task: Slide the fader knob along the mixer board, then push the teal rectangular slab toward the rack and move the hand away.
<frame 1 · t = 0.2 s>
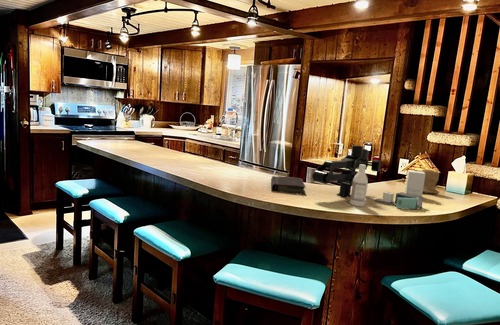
hand: (371, 164, 222), 17 cm above the table, tool horizontal, fingers open, 9 cm apart
fader knob: (388, 196, 197), point 3 cm above the table, slide at 0.0 cm
rack: (408, 205, 197), on the table
teal rectangular slab: (406, 203, 187), point 3 cm above the table, hinge at 55.0°
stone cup: (425, 193, 243), on the table
bath foam: (357, 205, 186), on the table
diary: (287, 189, 211), on the table
mixer board: (383, 202, 198), on the table
supplement box: (412, 196, 225), on the table
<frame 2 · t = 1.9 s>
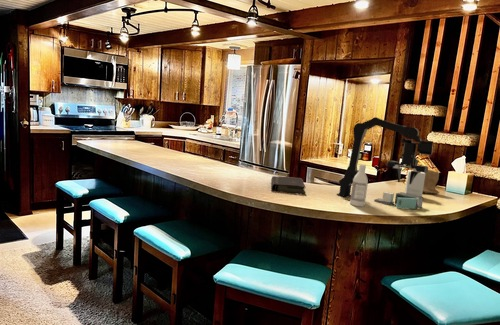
hand: (404, 183, 191), 12 cm above the table, tool pointing down, fingers open, 5 cm apart
nothing on the table moved.
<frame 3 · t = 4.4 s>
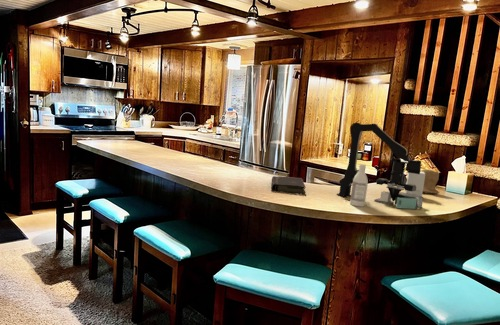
hand: (393, 201, 195), 2 cm above the table, tool pointing down, fingers closed
fader knob: (386, 196, 198), point 3 cm above the table, slide at 1.2 cm, touching gripper
everything else where it was.
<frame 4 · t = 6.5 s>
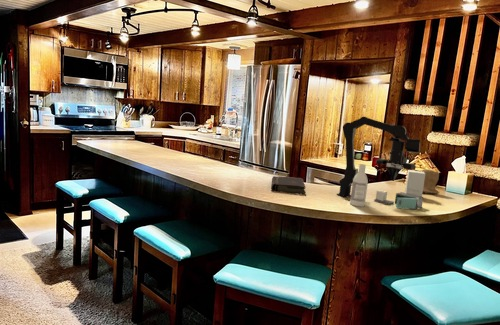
hand: (392, 180, 194), 12 cm above the table, tool pointing down, fingers closed
fader knob: (381, 195, 199), point 3 cm above the table, slide at 3.7 cm
everything else where it was.
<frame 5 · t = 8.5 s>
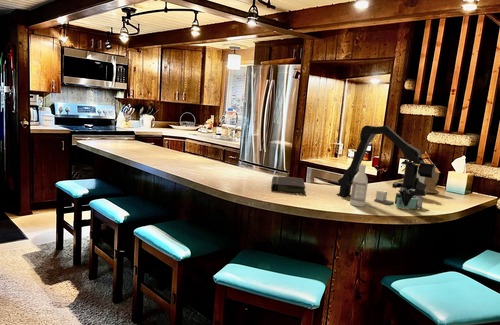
hand: (405, 206, 185), 2 cm above the table, tool pointing down, fingers closed
teal rectangular slab: (406, 203, 187), point 3 cm above the table, hinge at 55.0°, touching gripper
everything else where it was.
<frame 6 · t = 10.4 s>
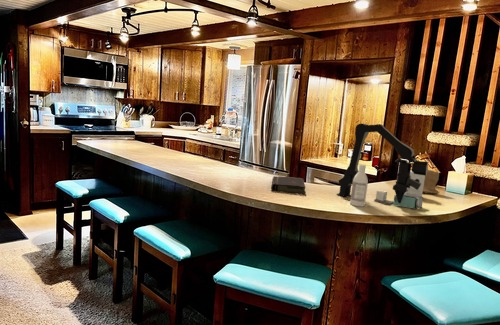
hand: (399, 203, 190), 2 cm above the table, tool pointing down, fingers closed
teal rectangular slab: (404, 201, 191), point 3 cm above the table, hinge at 20.0°, touching gripper
everything else where it was.
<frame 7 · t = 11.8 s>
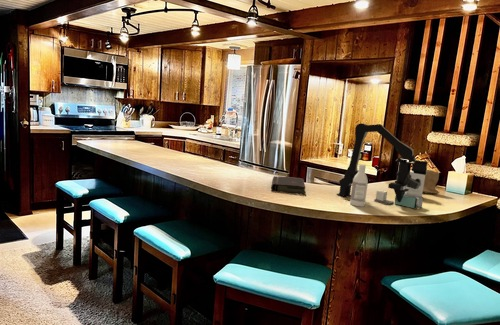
hand: (399, 202, 193), 2 cm above the table, tool pointing down, fingers closed
teal rectangular slab: (404, 201, 193), point 3 cm above the table, hinge at -0.1°, touching gripper
everything else where it was.
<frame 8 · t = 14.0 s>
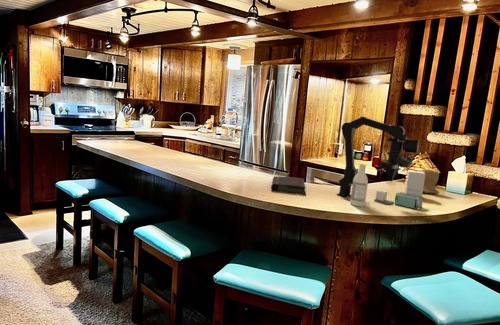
hand: (390, 181, 193), 12 cm above the table, tool pointing down, fingers closed
teal rectangular slab: (404, 201, 193), point 3 cm above the table, hinge at -0.1°
everything else where it was.
at the end: teal rectangular slab at +0° (first picture: +55°); fader knob slide at 3.7 cm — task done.
